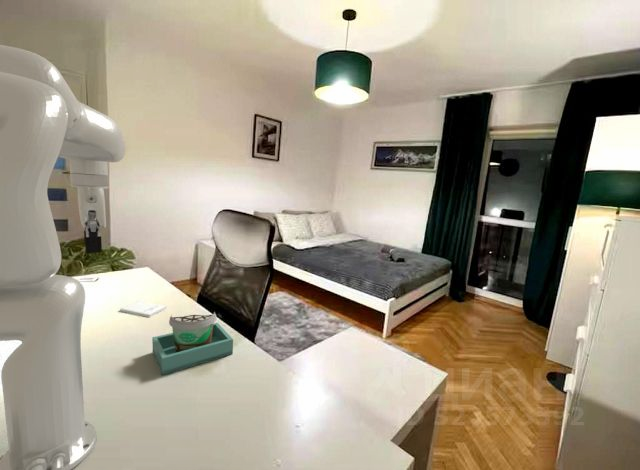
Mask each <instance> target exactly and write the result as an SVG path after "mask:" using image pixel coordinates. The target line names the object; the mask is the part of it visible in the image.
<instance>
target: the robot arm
mask: <svg viewBox="0 0 640 470" xmlns="http://www.w3.org/2000/svg"><path fill="white" fill-rule="evenodd" d="M125 155H126V142H125V138H124V136H123V133H122V130H121V128H120V126H119V125H118V123H117V122H116V121H115V120H114V119H112V118H111V117H109V116H108V115H106V114H105V113H102V112H101V111H98V110H97V109H95V108H92V107H90V105H87V104H84V103H83V102H80V101H79V100H78V98H77V97H76V96H75V95H74V93H73V91H72V89H71V88H70V86H69V84H68V83H67V82H66V80H65V78H64V76H63V75H62V74H61V72H60V71H59V69H58V68H57V67H56V66H55V65H54V64H53V63H52V62H50V61H49V60H48V59H46V58H45V57H43V56H41V55H39V54H38V53H35V52H32V51H30V50H26V49H23V48H19V47H15V46H8V45H3V44H0V342H3V341H4V342H7V341H9V342H10V341H20V342H21V343H20V344H19V345H18V347H16V348H15V349H14V350H13V351H12V352H11V354H9V356H8V357H7V358H6V360H5V361H4V363H3V365H2V368H1V374H0V377H1V385H2V395H3V404H4V414H5V415H4V416H5V425H6V426H5V428H6V435H7V444H8V446H7V447H8V450H7V451H6V452H5V453H4V454H3V456H2V457H1V458H0V470H73V469H74V468H75V467H77V466H78V465H79V464H80V463H81V462H83V460H84V459H86V457H87V456H88V455H89V453H91V451H92V450H93V449H94V446H95V444H96V440H97V430H96V427H95V426H94V425H93V424H92V423H90V422H88V421H85V420H86V419H85V406H84V404H85V403H84V402H85V401H84V383H83V368H82V367H83V366H82V365H83V364H82V347H81V345H82V343H81V341H82V340H81V339H82V325H83V318H84V309H85V304H86V290H85V288H84V286H83V284H82V283H81V282H80V281H79V280H78V279H75V278H74V277H72V276H67V275H65V274H64V275H63V274H57V273H58V271H59V269H60V268H61V263H62V250H61V245H60V241H59V236H58V234H57V230H56V225H55V222H54V217H53V214H52V210H51V209H52V208H51V205H50V201H49V196H48V187H49V181H50V177H51V175H52V173H53V169H54V167H55V165H56V162H57V160H58V157H59V158H61V159H67V160H68V159H69V175H70V187H71V188H76V189H77V191H76V192H77V204H78V213H79V218H80V224H81V227H82V228H83V229H84V230H83V237H84V240H83V241H84V246H85V247H84V248H85V254H99V253H102V252H103V244H102V236H101V229H100V228H101V227H102V228H104V229H105V228H106V227H107V218H106V214H107V213H106V197H105V191H104V189H105V190H107V189H109V164H108V163H118V162H120V161H122V160H123V159H124V157H125Z"/></svg>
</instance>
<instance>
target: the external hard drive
mask: <svg viewBox="0 0 640 470" xmlns="http://www.w3.org/2000/svg"><path fill="white" fill-rule="evenodd" d="M166 308H167V309H168V306H166V305H160V304H157V303H156V304H155V303H150V302H145V301H141V300H138V301H135V302H132V303H130V304H128V305H125V306H123V307H121V308H120V310H119V312H121V313H127V314H130V315H137V316H142V317H148V318H151V317H154V316H156V315H157V314H159V313H161V312H164V311H165V310H167V309H166Z"/></svg>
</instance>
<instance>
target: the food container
mask: <svg viewBox="0 0 640 470" xmlns="http://www.w3.org/2000/svg"><path fill="white" fill-rule="evenodd" d="M216 320H217V314H216V312H215V311H214V312H213V314H206V315H204V314H203V315H202V314H190V315H185V316H175V317H173V315H172V314H171V315H170V317H169V320H168V324H169V326H170V327H172V333H173V337H174V345H175V350H176V352H180V351H184V350H188V349H192V348H196V347H199V346H203V345H207V344H211V337H212V330H213V324H214V323H216Z"/></svg>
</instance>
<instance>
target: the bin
mask: <svg viewBox="0 0 640 470" xmlns="http://www.w3.org/2000/svg"><path fill="white" fill-rule="evenodd" d="M233 351H234V339H233V338H232V336H230V334H228V332H227V331H226V329H224V328H223V327H222V326H221V324H220V323H218V322H214V323H213V330H212V337H211V344H207V345H203V346H199V347H196V348H192V349H188V350H184V351H180V352H176V350H175V345H174V337H173V332H171V333H170V332H169V333H166V334H162V335H157V336H156V335H155V336H153V337H152V354H153V357H154V359H155V361H156V364H157V366H158V368H159V371H160V373H161V375H162V376H164V375H169V374H171V373H175V372H178V371H181V370H186V369H188V368H191V367H195V366H198V365H201V364H204V363H208V362H212V361H214V360H218V359H221V358H225V357H228V356H231V355H234V354H233V353H234V352H233Z"/></svg>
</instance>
